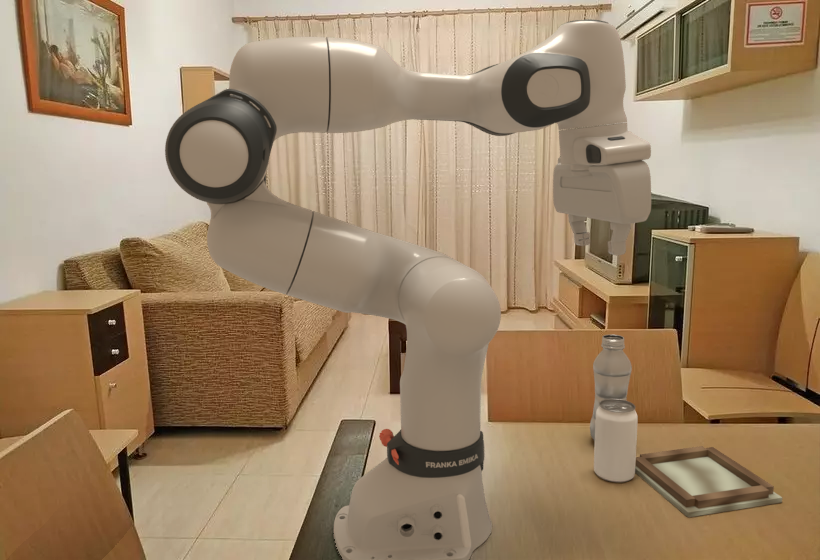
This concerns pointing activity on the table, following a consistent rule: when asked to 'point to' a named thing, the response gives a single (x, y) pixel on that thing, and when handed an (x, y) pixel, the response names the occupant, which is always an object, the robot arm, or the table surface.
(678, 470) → the wooden picture frame
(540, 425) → the table surface
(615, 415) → the can
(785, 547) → the table surface
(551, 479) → the table surface
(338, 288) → the robot arm
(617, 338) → the plastic bottle
